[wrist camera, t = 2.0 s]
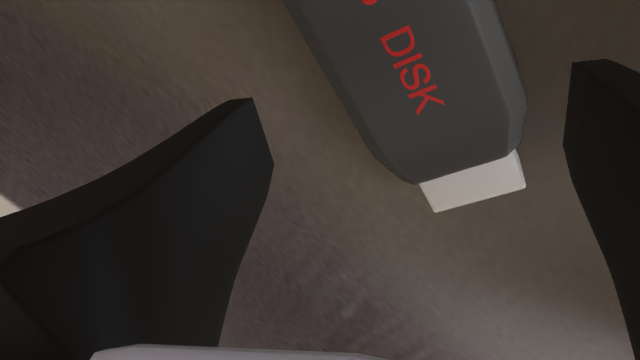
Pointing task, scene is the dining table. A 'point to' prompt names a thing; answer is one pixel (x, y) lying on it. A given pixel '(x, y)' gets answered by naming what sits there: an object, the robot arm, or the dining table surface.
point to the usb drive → (425, 89)
